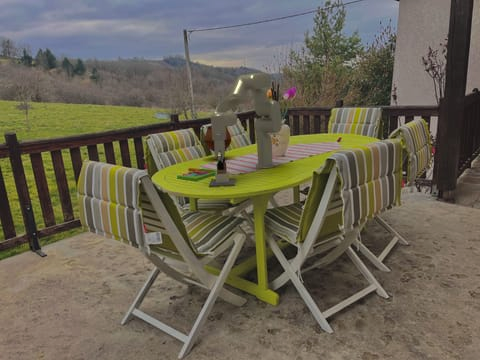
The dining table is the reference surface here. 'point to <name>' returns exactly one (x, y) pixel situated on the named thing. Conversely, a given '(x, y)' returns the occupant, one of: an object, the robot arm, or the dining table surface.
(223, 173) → the walnut cube
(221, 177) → the cream brick
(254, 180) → the dining table surface
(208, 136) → the goblet
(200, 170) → the jigsaw puzzle tray
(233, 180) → the base plate
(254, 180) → the dining table surface
